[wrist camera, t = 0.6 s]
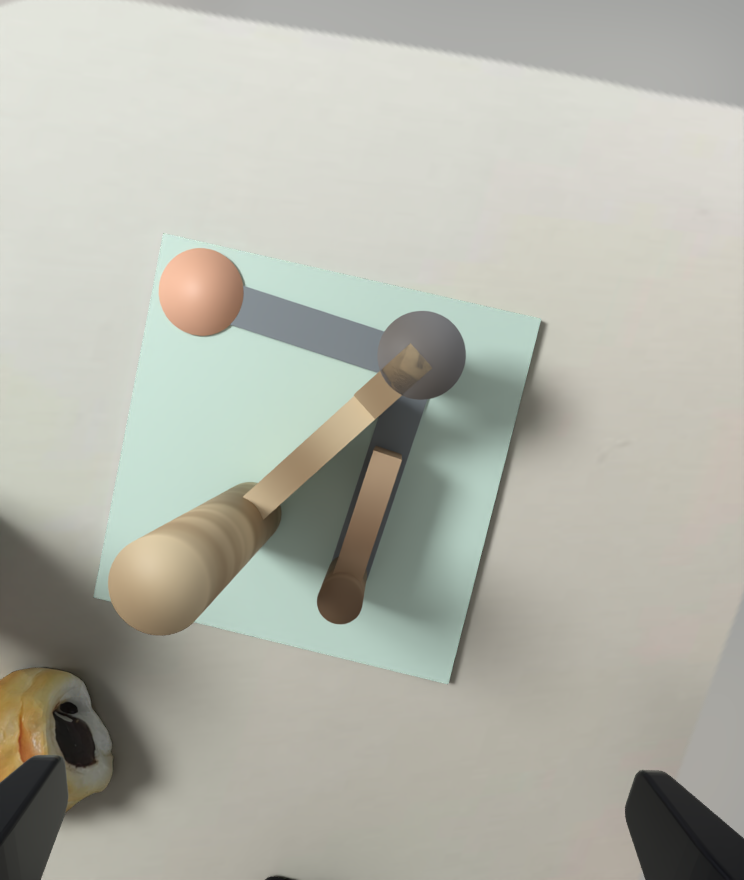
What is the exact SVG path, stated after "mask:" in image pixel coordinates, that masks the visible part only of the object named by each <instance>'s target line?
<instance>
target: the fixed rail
mask: <svg viewBox="0 0 744 880" xmlns="http://www.w3.org/2000/svg"><path fill="white" fill-rule="evenodd" d="M401 461H402V455H401V454H400V453H397V452H394V451H390V450H387V449H384V448H381V447H378V446H375V448H374V450H373V453H372V456H371V459H370V462H369V466H368V469H367V472H366V475H365V478H364V481H363V484H362V487H361V490H360V493H359V496H358V499H357V502H356V505H355V508H354V511H353V514H352V517H351V521H350V524H349V527H348V530H347V533H346V536H345V539H344V542H343V545H342V548H341V551H340V554H339V557H337V558H335V559H334V560H333V561H332V562H331V564H330V566H329V568H328V571H327V573H326V576H325V578H324V581H323V583H322V586H321V588H320V591H319V593H318V596H317V607H318V610H319V612H320V614H321V615H322V616H323V618H325V619H326V620H327V621H329V622H331V623H334V624H347V623H350V622H351V621H353V620H354V619H356V618H357V617H358V615H359V614H360V612H361V609H362V605H363V599H364V592H365V586H366V580H367V569H366V567H367V564H368V561H369V558H370V555H371V552H372V549H373V546H374V543H375V540H376V537H377V534H378V531H379V528H380V525H381V522H382V519H383V516H384V513H385V510H386V507H387V504H388V501H389V498H390V495H391V492H392V489H393V486H394V483H395V480H396V477H397V473H398V470H399V467H400V464H401Z"/></svg>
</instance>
